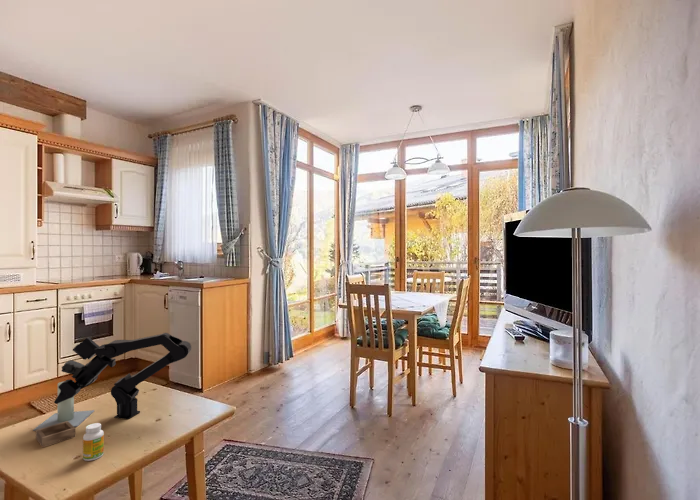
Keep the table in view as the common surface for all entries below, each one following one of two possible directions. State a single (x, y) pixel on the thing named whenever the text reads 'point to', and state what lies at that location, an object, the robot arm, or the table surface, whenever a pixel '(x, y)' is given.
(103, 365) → the robot arm
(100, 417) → the table surface
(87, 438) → the supplement bottle
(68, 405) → the green bottle
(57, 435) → the brown square open box
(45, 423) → the mat
